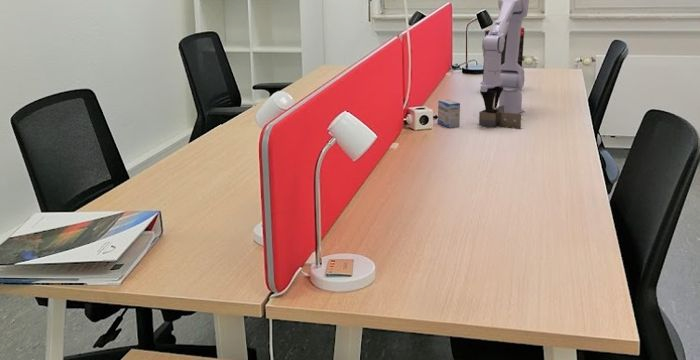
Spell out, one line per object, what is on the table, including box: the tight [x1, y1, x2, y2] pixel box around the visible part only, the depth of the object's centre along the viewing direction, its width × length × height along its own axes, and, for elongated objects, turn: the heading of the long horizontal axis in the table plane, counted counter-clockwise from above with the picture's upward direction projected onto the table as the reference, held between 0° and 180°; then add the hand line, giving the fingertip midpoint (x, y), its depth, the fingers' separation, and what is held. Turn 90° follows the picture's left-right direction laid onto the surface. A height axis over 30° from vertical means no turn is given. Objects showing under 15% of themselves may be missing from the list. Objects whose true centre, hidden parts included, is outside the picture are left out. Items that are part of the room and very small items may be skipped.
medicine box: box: [437, 99, 461, 129], centre depth 271 cm, size 8×4×9 cm, turn 25°
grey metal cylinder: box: [486, 92, 497, 113], centre depth 269 cm, size 4×4×8 cm
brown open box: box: [478, 108, 522, 130], centre depth 268 cm, size 6×14×5 cm, turn 56°
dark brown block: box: [478, 105, 504, 129], centre depth 273 cm, size 14×6×5 cm, turn 146°
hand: (491, 108), depth 269 cm, fingers closed on grey metal cylinder, 3 cm apart
